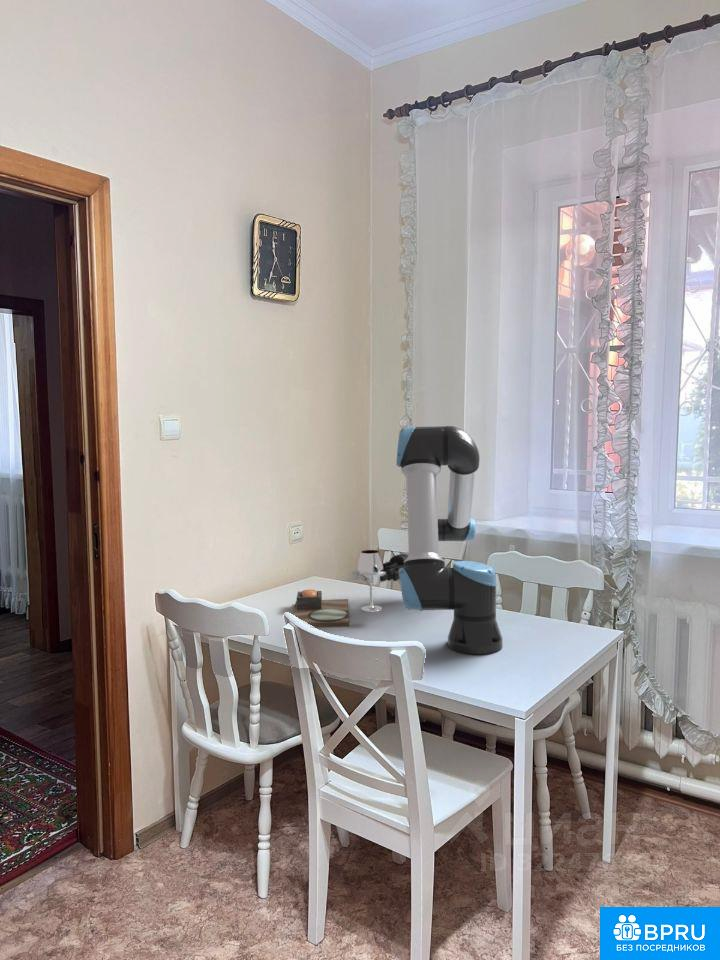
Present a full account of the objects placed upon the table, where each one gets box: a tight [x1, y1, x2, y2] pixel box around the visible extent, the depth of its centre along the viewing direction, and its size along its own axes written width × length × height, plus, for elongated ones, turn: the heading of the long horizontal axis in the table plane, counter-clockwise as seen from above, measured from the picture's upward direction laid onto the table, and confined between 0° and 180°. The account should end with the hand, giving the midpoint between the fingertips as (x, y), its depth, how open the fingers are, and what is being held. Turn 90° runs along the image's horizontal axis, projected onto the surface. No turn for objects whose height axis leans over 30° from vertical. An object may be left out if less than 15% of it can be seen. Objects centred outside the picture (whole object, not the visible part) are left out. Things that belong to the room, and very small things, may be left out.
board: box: [292, 590, 350, 628], centre depth 233 cm, size 26×18×5 cm
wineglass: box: [356, 549, 384, 613], centre depth 221 cm, size 8×8×18 cm
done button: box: [301, 589, 318, 597], centre depth 239 cm, size 5×5×3 cm
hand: (361, 578), depth 217 cm, fingers closed on wineglass, 8 cm apart
